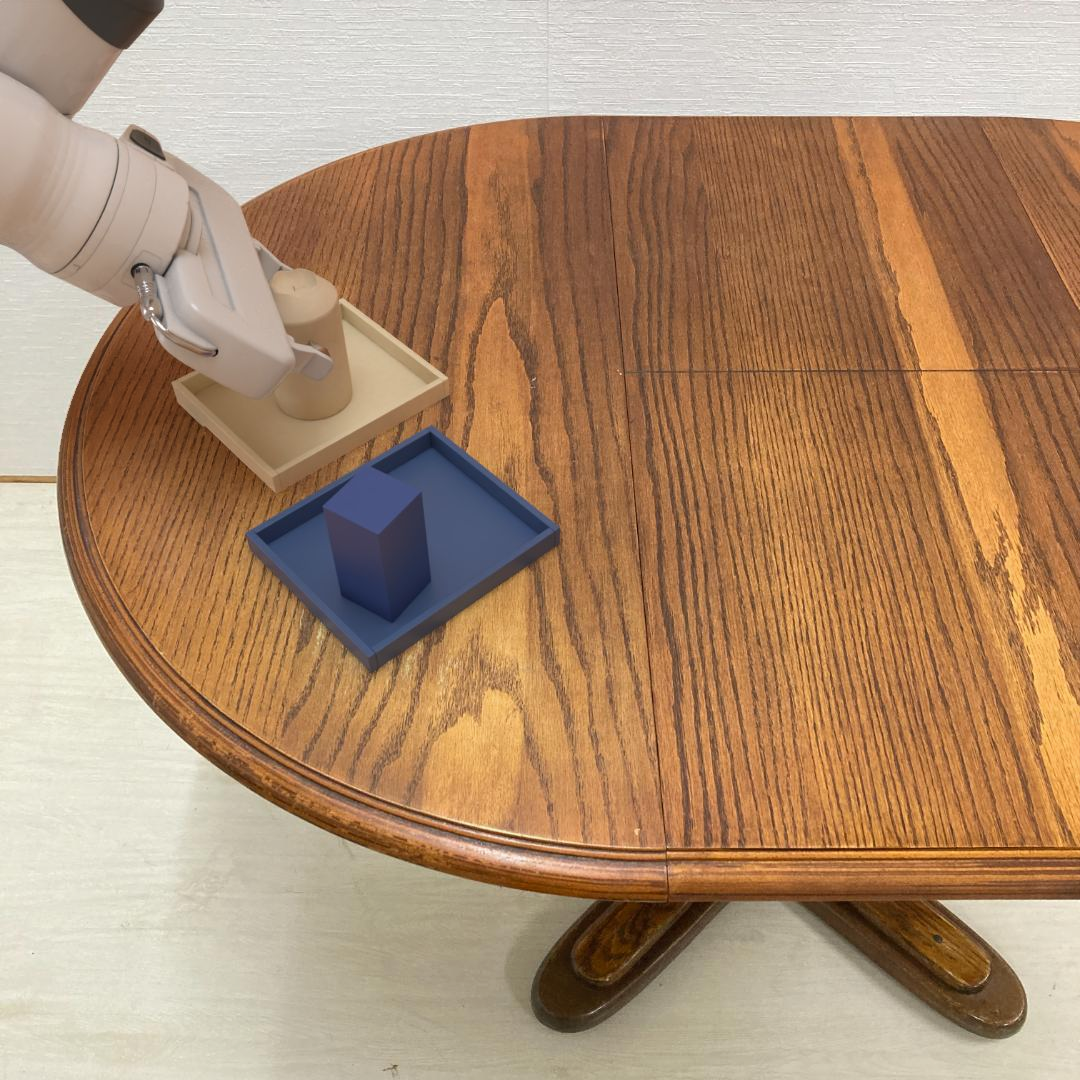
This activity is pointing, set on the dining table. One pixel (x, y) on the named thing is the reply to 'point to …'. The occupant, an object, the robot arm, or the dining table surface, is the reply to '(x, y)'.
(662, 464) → the dining table surface
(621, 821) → the dining table surface
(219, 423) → the cream tray
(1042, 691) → the dining table surface
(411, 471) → the blue tray
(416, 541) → the blue peg
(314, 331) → the candle
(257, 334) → the robot arm
